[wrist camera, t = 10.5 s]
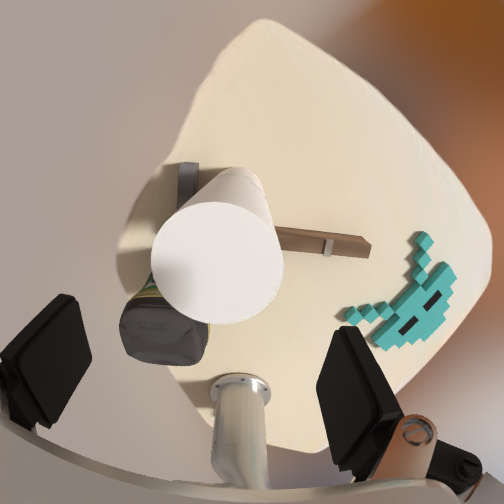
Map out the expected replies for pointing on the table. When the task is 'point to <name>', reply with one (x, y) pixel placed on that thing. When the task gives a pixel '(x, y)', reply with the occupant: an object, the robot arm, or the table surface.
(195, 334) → the coffee jar
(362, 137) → the table surface
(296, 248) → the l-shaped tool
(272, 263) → the cylindrical container
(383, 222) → the table surface
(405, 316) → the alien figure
